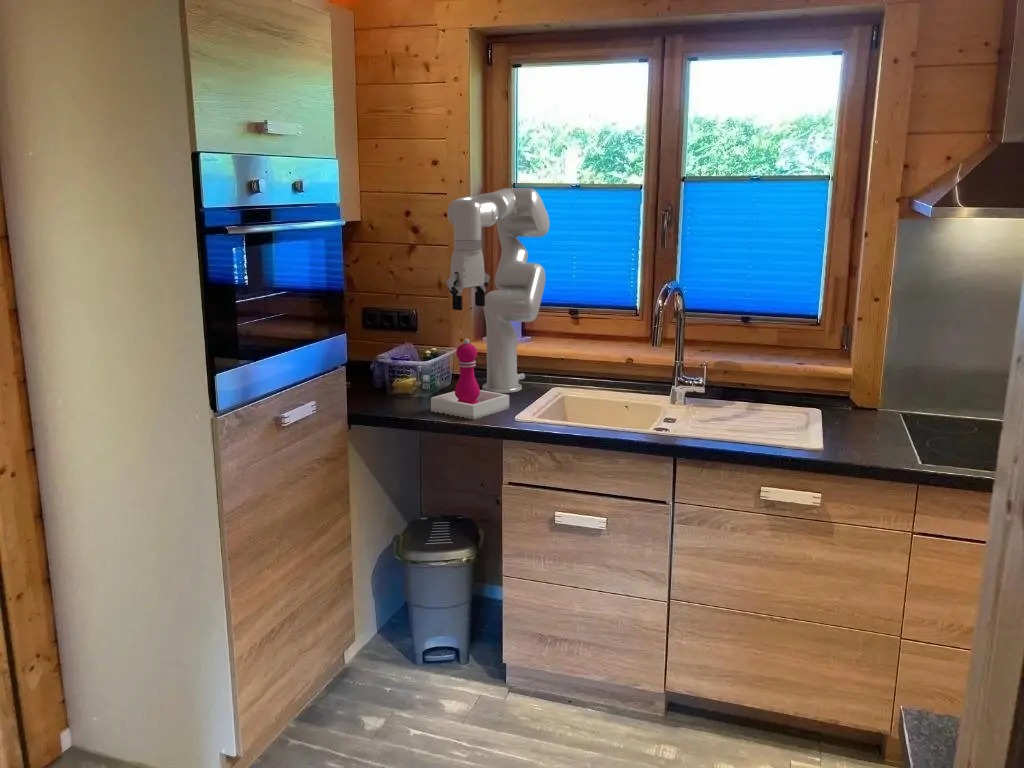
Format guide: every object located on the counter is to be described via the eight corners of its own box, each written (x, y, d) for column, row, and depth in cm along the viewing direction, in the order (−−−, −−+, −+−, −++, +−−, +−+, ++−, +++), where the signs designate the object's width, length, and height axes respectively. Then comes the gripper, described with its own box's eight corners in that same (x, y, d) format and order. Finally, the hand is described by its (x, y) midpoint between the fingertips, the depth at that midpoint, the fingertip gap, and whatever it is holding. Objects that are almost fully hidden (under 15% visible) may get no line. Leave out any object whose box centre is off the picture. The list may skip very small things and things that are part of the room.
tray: (467, 400, 252) (467, 387, 251) (509, 408, 243) (509, 395, 242) (431, 411, 240) (430, 397, 239) (473, 420, 230) (473, 405, 229)
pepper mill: (479, 410, 237) (478, 340, 232) (454, 410, 237) (452, 340, 232) (480, 403, 244) (479, 336, 239) (456, 403, 244) (454, 336, 239)
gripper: (477, 244, 240) (478, 303, 244) (436, 247, 227) (438, 310, 230) (498, 245, 235) (498, 305, 239) (457, 248, 222) (458, 312, 226)
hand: (469, 307), depth 235 cm, fingers open, 9 cm apart
